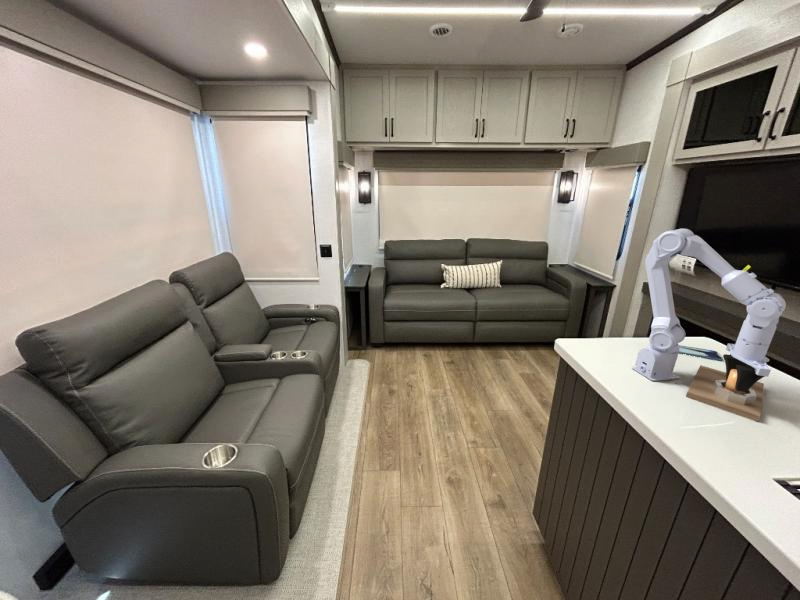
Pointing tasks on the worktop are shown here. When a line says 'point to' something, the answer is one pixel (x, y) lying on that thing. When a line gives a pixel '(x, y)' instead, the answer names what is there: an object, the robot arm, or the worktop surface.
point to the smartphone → (700, 353)
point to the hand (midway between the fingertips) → (736, 386)
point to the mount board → (704, 393)
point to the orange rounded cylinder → (732, 381)
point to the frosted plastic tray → (733, 394)
